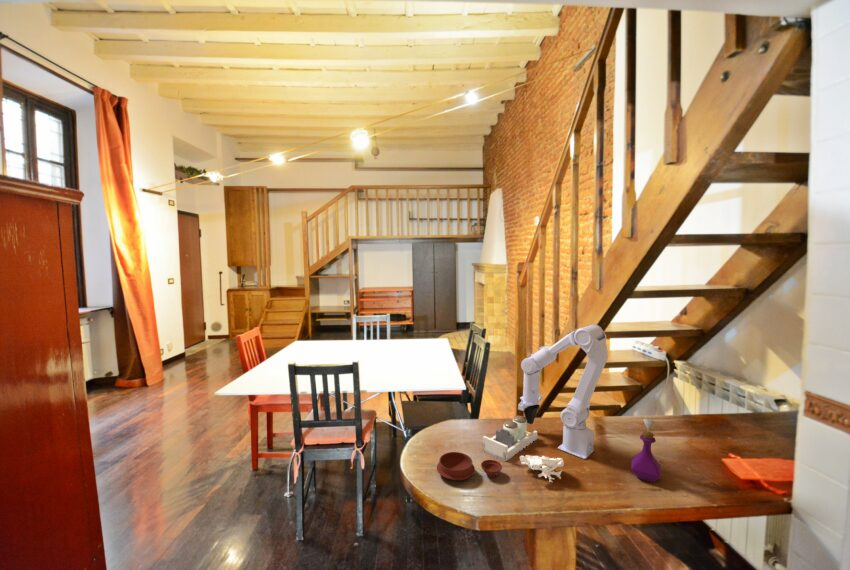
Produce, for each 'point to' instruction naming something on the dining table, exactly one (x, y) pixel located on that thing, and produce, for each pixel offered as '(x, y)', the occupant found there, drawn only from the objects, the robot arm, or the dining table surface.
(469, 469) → the pottery
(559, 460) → the white irregular branching piece
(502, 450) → the tray
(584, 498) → the dining table surface
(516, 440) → the stocked jar
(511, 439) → the pusher
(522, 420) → the jar
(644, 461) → the perfume bottle
